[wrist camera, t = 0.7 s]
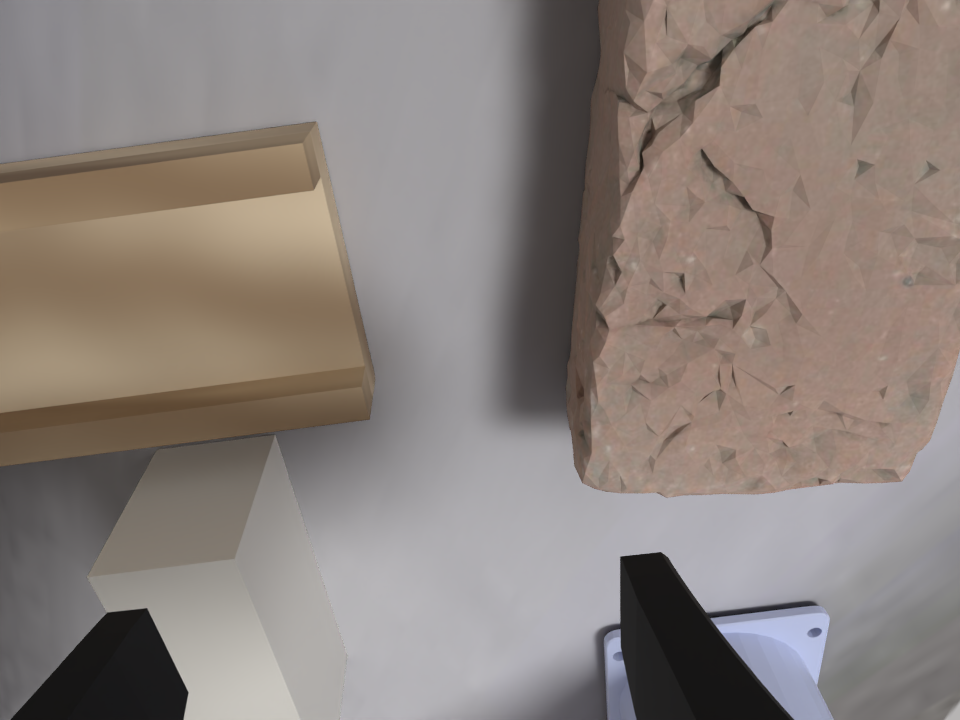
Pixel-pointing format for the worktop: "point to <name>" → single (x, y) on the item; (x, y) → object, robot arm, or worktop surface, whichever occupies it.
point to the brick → (766, 244)
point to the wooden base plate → (175, 296)
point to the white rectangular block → (228, 583)
